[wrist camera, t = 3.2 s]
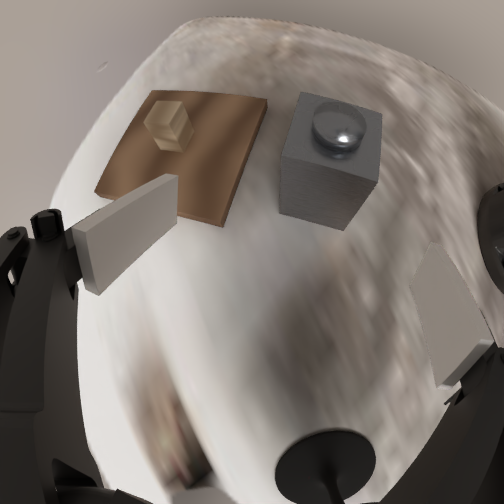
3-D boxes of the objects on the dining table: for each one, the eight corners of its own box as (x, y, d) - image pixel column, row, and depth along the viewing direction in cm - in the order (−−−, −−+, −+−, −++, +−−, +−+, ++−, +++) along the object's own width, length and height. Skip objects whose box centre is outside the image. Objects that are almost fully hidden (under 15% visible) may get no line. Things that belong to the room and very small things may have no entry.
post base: (267, 107, 30) (265, 67, 23) (223, 227, 26) (207, 199, 20) (155, 97, 32) (139, 65, 26) (100, 196, 29) (69, 172, 22)
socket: (353, 175, 27) (386, 103, 16) (343, 230, 25) (384, 173, 14) (294, 159, 28) (301, 80, 17) (279, 213, 26) (281, 144, 15)
